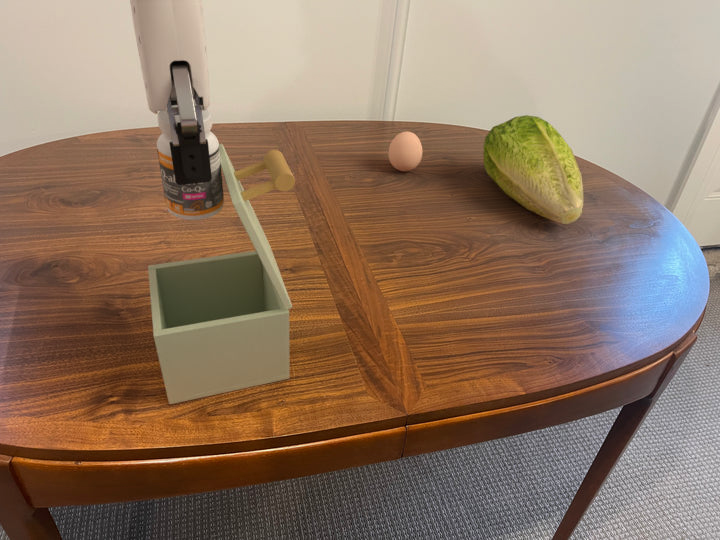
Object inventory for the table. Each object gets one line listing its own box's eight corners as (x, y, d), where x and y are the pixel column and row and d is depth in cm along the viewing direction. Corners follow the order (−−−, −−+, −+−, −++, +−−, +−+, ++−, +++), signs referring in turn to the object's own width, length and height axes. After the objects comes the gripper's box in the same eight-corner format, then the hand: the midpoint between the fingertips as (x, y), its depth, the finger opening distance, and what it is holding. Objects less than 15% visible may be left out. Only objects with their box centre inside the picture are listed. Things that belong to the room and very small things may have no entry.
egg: (379, 168, 106) (383, 131, 102) (400, 158, 111) (405, 122, 106) (405, 181, 103) (411, 143, 98) (426, 170, 107) (432, 133, 102)
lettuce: (528, 210, 85) (616, 166, 83) (464, 127, 101) (538, 88, 99) (538, 260, 96) (616, 221, 94) (479, 178, 112) (545, 143, 110)
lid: (232, 204, 46) (296, 178, 47) (214, 145, 55) (269, 124, 55) (285, 310, 56) (338, 288, 57) (263, 247, 65) (309, 228, 65)
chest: (169, 405, 59) (153, 336, 52) (162, 332, 68) (147, 265, 61) (289, 378, 63) (289, 312, 57) (269, 313, 72) (266, 248, 65)
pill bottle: (159, 220, 52) (141, 123, 46) (176, 190, 57) (161, 99, 51) (217, 224, 52) (207, 129, 46) (230, 194, 57) (222, 104, 51)
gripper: (106, -70, 45) (144, 130, 57) (107, -28, 33) (154, 218, 44) (198, -66, 48) (216, 125, 59) (230, -26, 35) (245, 207, 47)
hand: (189, 163), depth 51 cm, fingers closed on pill bottle, 5 cm apart
